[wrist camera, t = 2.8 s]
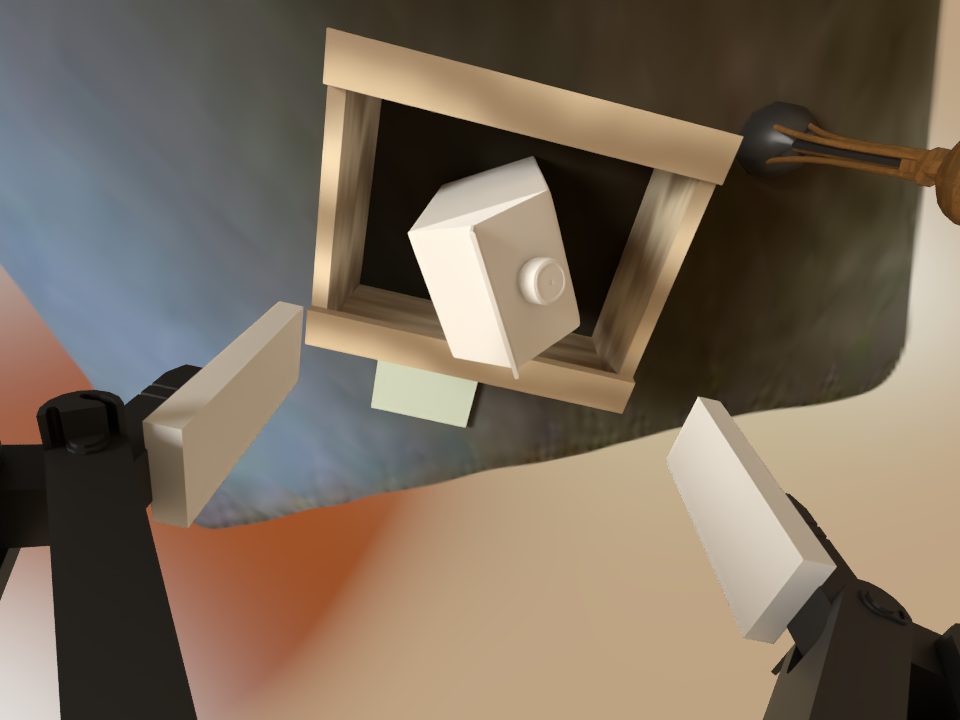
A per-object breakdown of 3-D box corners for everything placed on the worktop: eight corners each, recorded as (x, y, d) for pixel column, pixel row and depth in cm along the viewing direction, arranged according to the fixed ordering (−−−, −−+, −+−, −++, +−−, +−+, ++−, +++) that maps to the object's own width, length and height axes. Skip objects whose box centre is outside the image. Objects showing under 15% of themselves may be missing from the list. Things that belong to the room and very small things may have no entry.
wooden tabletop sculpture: (741, 90, 34) (1000, 84, 16) (814, 78, 33) (1164, 59, 16) (733, 181, 36) (949, 262, 19) (801, 171, 36) (1087, 245, 18)
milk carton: (470, 272, 41) (445, 396, 24) (441, 184, 37) (389, 256, 21) (556, 247, 39) (593, 361, 23) (534, 154, 36) (558, 205, 19)
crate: (373, 45, 33) (326, 27, 25) (684, 126, 35) (743, 136, 26) (346, 292, 42) (305, 343, 33) (598, 350, 43) (621, 413, 35)
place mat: (385, 317, 43) (384, 320, 42) (487, 341, 43) (487, 344, 43) (372, 403, 47) (371, 407, 46) (466, 423, 48) (465, 427, 47)
